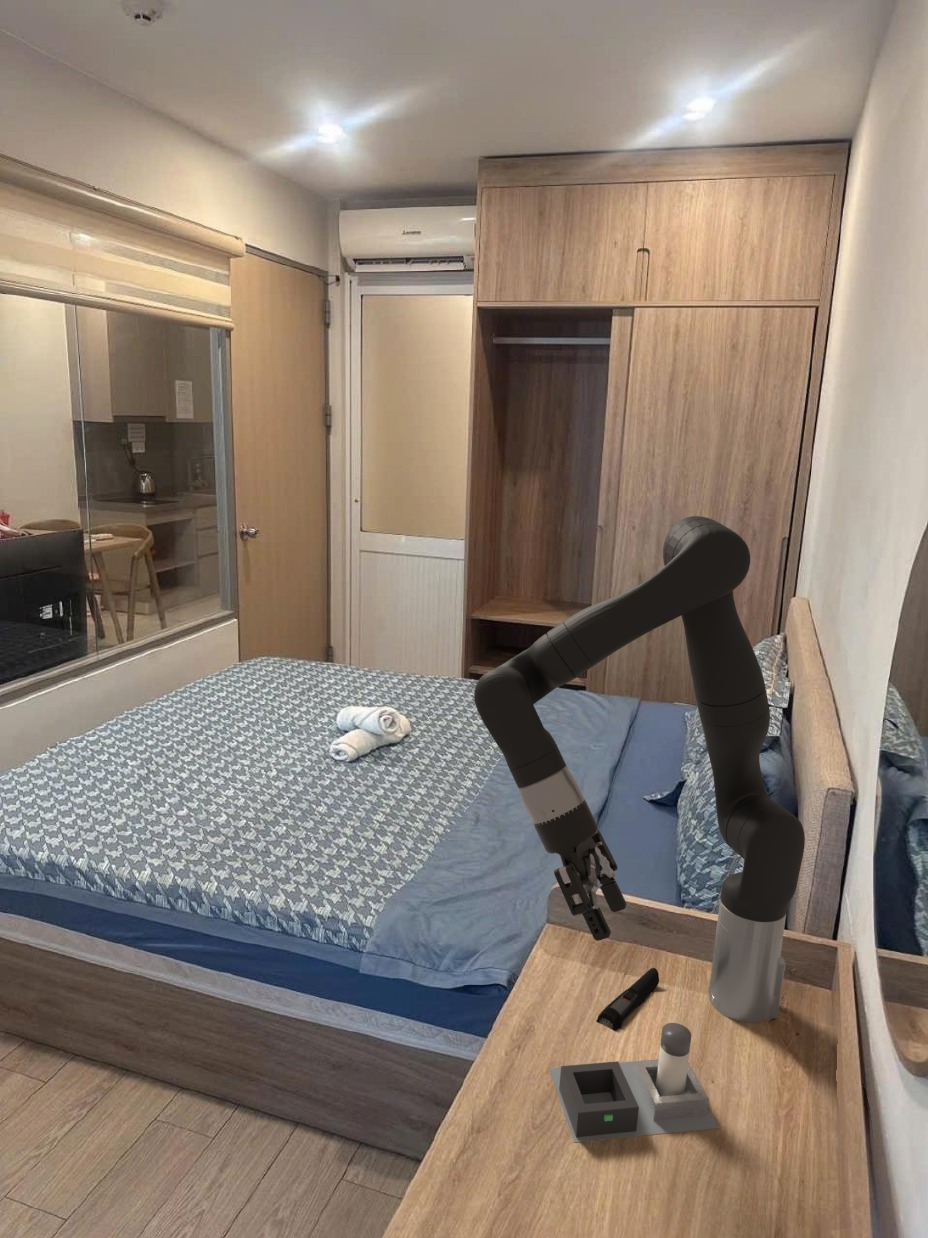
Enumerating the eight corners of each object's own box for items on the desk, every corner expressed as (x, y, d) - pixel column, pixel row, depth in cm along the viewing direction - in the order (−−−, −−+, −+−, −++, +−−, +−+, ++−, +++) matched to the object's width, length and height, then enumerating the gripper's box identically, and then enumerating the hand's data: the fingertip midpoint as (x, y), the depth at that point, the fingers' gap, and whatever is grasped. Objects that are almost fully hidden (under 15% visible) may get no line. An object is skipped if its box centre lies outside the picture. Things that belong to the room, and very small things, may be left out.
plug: (677, 1085, 113) (684, 1022, 110) (688, 1106, 109) (696, 1041, 107) (650, 1087, 112) (657, 1024, 110) (661, 1109, 108) (668, 1044, 106)
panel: (679, 1063, 118) (679, 1057, 117) (718, 1134, 106) (719, 1128, 106) (548, 1075, 115) (548, 1068, 114) (573, 1149, 103) (574, 1142, 103)
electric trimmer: (665, 990, 134) (667, 972, 133) (615, 1042, 122) (616, 1022, 121) (643, 980, 136) (644, 962, 135) (592, 1029, 124) (593, 1010, 123)
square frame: (684, 1074, 114) (685, 1058, 114) (706, 1115, 108) (708, 1098, 107) (633, 1078, 113) (635, 1062, 113) (653, 1120, 107) (655, 1103, 106)
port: (615, 1084, 112) (617, 1061, 111) (637, 1133, 105) (639, 1109, 104) (559, 1089, 111) (561, 1066, 110) (576, 1139, 103) (578, 1115, 103)
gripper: (566, 816, 105) (625, 940, 104) (596, 783, 118) (649, 893, 116) (514, 836, 108) (571, 957, 107) (549, 801, 121) (600, 908, 120)
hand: (612, 923), depth 112 cm, fingers open, 8 cm apart
